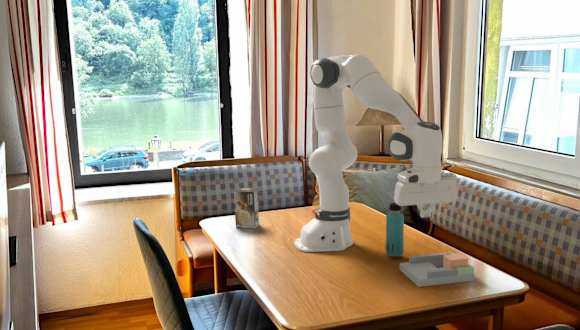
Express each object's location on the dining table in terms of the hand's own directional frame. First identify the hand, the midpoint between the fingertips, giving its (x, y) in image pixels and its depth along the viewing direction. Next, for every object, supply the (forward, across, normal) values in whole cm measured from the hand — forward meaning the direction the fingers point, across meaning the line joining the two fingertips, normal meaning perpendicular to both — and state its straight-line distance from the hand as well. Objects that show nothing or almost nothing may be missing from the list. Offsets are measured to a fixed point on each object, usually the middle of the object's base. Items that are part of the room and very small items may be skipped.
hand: (425, 216), depth 187 cm
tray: (+21, -5, -2) cm, 22 cm away
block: (+19, -11, +1) cm, 21 cm away
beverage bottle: (+21, +1, -21) cm, 30 cm away
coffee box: (+22, +46, -74) cm, 90 cm away
